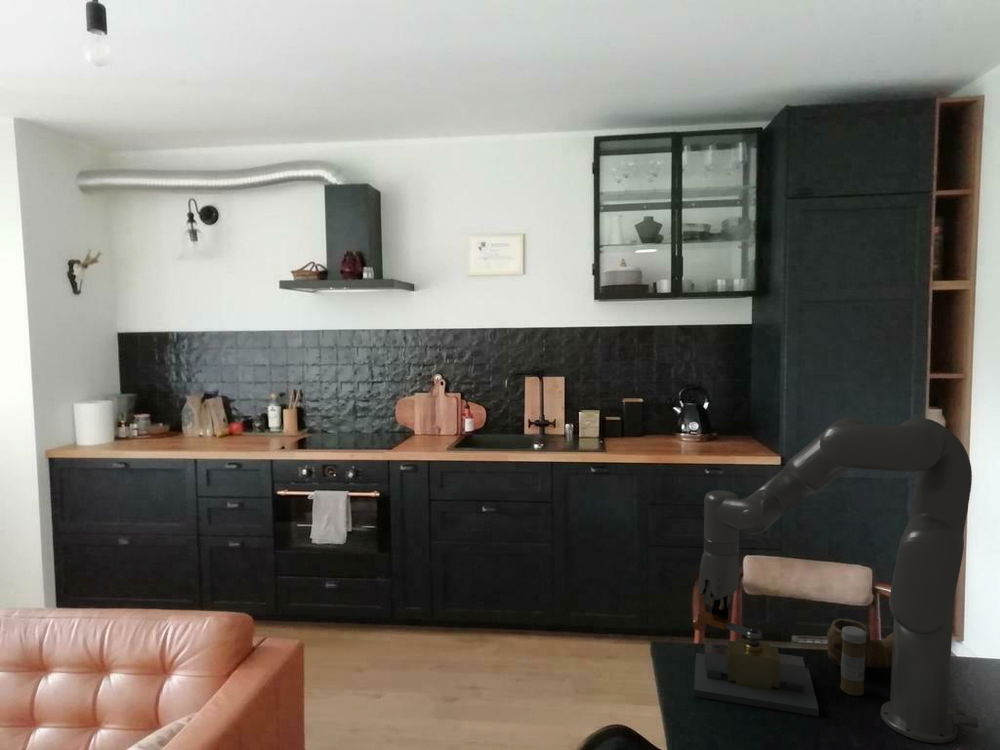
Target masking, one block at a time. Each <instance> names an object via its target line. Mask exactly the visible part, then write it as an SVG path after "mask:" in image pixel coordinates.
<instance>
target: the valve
mask: <svg viewBox="0 0 1000 750" xmlns="http://www.w3.org/2000/svg"><path fill="white" fill-rule="evenodd" d="M704 654H705V662H704V670H707V678H710V679H717V680H721V672H722V673H728V680H730V681H736V685H740V686H747V687H753V688H760V689H766V690H771V687H776V688H779V684H780V681H783V682H785V685H786V690H789V691H796V692H802V684H803V685H804V683H805V668H806V665H805V661H804V657H803V656H798V655H790V654H784V653H780V652H779V647H778V646H771V644H770V642H768V641H761V640H751V639H748V638H747V639H745V638H737V637H735V640H727V646H724V645H717V644H711V643H704Z"/></svg>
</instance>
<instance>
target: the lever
mask: <svg viewBox="0 0 1000 750" xmlns="http://www.w3.org/2000/svg"><path fill="white" fill-rule="evenodd" d="M697 621H698V622H701V623H703V624H707V625H709V626H712V627H715V628H717V629H721V630H723V631H725V630H730V631H733V632H736V633H739V634H742V635H745V637H746V638H747V640H748V639H751V640H760V641H761V640H762V637H763V636H762V635H763V634H762V631H761V630H760V629H759V628H758V627H756V626H750V627H745V626H743V625H739V624H736V623H733V622H731V619H729V618H728V619H726V618H723V617H720V616H717V615H714V614H712V612H708V611H704V610H703V611H702V612H700V613H698V614H697Z"/></svg>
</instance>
